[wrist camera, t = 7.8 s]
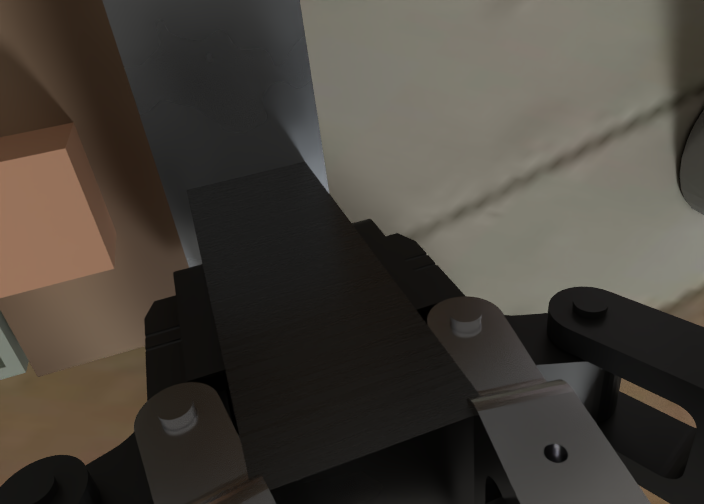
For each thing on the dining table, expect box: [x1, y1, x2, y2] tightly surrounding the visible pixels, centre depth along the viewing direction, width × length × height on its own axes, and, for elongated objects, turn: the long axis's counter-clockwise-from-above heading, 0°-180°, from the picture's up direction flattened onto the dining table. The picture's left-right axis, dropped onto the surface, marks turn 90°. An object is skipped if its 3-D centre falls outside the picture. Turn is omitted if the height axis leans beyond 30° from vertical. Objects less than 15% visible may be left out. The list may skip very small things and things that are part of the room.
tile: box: [0, 122, 116, 298], centre depth 17 cm, size 4×4×2 cm
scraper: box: [102, 0, 480, 504], centre depth 12 cm, size 4×12×12 cm, turn 7°
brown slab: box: [0, 0, 189, 377], centre depth 20 cm, size 12×14×3 cm
